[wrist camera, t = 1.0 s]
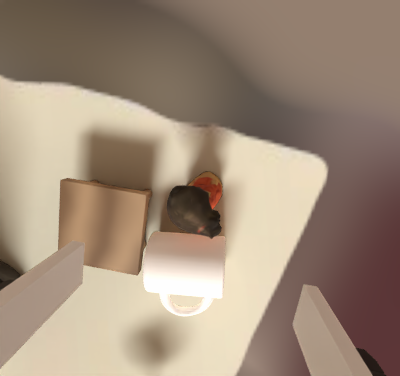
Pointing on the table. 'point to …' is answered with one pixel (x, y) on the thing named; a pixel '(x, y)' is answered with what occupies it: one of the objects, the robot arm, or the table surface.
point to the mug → (184, 269)
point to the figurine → (197, 205)
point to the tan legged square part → (104, 223)
